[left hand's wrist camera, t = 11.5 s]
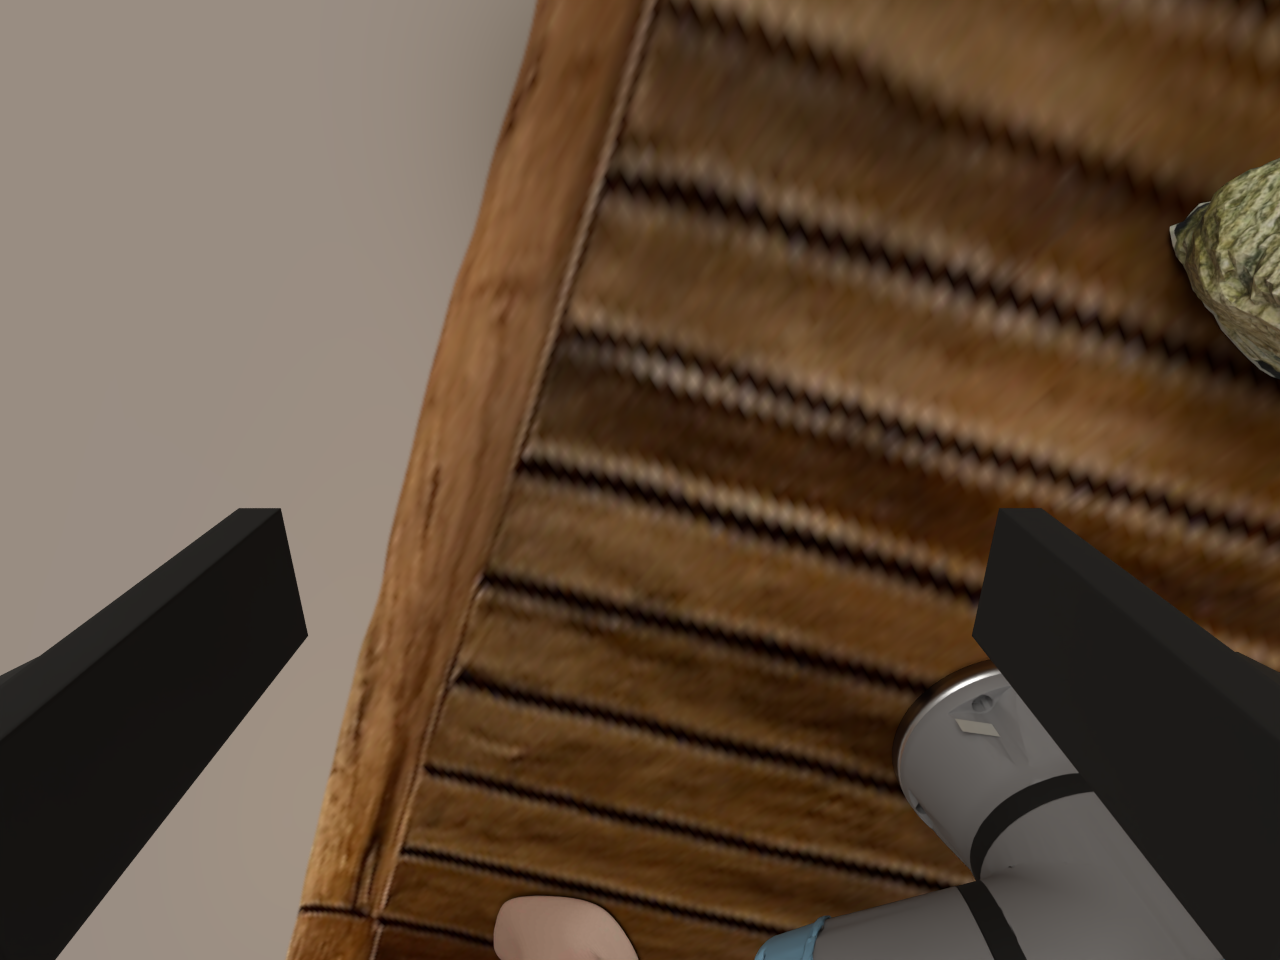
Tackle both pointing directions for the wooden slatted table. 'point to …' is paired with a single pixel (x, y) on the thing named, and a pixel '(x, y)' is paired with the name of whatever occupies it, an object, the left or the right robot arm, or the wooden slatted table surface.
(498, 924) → the anatomical model
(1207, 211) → the fossil
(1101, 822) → the left robot arm
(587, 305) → the wooden slatted table surface
